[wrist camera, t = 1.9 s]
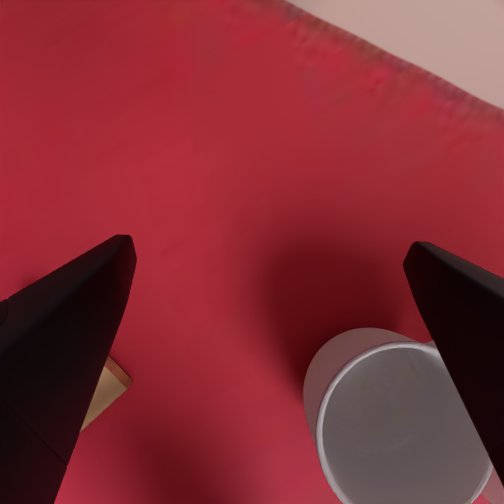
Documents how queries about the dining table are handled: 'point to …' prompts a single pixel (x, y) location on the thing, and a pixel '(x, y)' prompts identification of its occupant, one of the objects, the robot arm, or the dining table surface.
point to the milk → (494, 489)
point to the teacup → (391, 422)
